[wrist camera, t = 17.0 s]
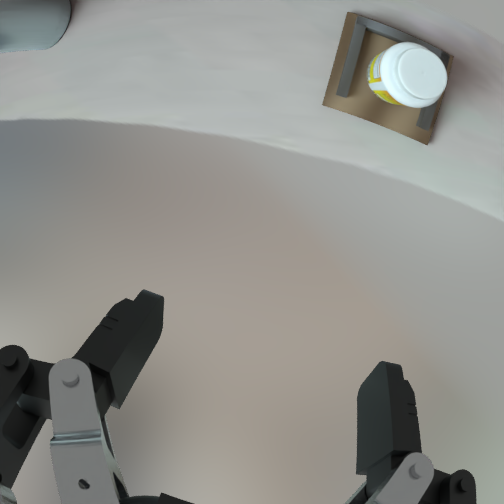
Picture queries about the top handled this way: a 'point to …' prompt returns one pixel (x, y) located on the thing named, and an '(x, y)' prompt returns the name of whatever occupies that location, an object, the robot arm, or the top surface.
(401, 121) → the notched cradle board
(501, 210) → the top surface
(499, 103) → the top surface
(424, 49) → the supplement bottle
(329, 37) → the top surface
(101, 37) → the top surface
